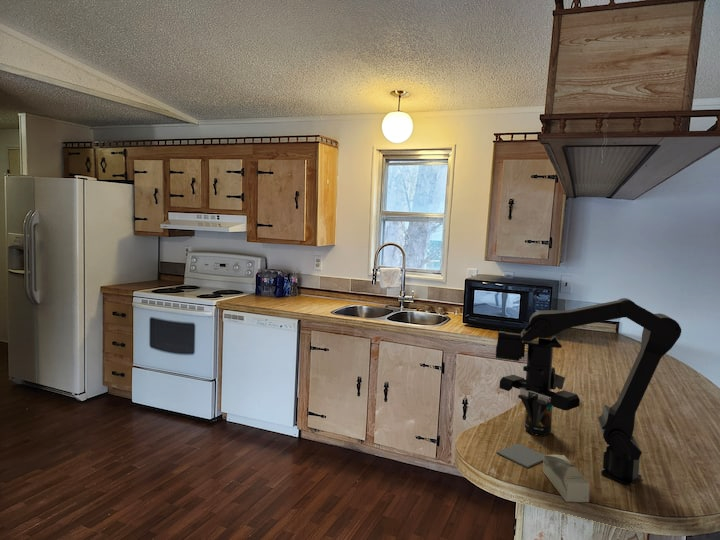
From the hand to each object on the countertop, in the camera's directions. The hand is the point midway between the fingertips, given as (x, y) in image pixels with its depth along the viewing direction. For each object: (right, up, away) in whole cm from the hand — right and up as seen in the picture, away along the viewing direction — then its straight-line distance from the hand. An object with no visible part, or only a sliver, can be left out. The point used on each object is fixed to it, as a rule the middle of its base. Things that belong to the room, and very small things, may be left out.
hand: (535, 425), depth 117 cm
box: (+2, -7, -5) cm, 9 cm away
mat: (-2, -9, +3) cm, 9 cm away
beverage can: (+8, -8, +19) cm, 22 cm away
